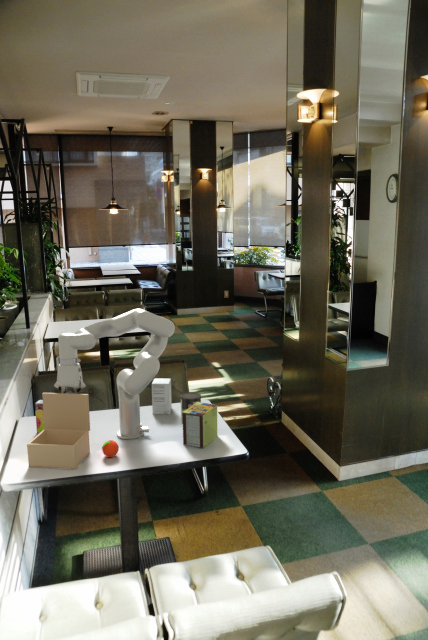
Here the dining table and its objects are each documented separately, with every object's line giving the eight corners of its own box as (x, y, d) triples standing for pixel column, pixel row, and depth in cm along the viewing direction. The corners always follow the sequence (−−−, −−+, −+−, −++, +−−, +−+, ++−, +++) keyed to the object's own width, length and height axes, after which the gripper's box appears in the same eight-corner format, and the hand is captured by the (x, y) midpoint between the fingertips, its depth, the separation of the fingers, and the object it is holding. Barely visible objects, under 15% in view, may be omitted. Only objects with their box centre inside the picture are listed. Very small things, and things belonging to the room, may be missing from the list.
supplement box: (154, 407, 276) (154, 378, 273) (171, 407, 276) (171, 378, 273) (152, 414, 266) (151, 383, 263) (169, 414, 266) (169, 383, 263)
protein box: (217, 435, 238) (217, 404, 236) (203, 448, 225) (202, 415, 222) (197, 432, 243) (197, 401, 240) (182, 444, 229) (181, 412, 226)
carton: (89, 452, 222) (88, 430, 220) (75, 469, 206) (74, 446, 204) (46, 450, 224) (44, 428, 223) (28, 467, 209) (27, 444, 207)
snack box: (83, 429, 247) (81, 400, 244) (79, 434, 241) (77, 404, 239) (41, 428, 249) (39, 399, 246) (36, 433, 244) (33, 403, 241)
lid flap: (89, 430, 220) (94, 425, 226) (87, 394, 218) (92, 390, 224) (44, 428, 223) (51, 423, 229) (42, 393, 220) (48, 388, 226)
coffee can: (205, 423, 253) (204, 396, 251) (186, 427, 248) (186, 400, 246) (195, 417, 262) (194, 390, 260) (177, 421, 257) (176, 394, 254)
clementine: (106, 462, 212) (106, 446, 211) (97, 457, 217) (96, 441, 216) (122, 455, 218) (121, 440, 217) (112, 451, 223) (112, 436, 222)
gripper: (90, 359, 225) (91, 399, 228) (53, 358, 227) (56, 397, 230) (84, 364, 218) (85, 405, 221) (46, 362, 219) (48, 403, 223)
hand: (70, 400), depth 225 cm, fingers closed on lid flap, 4 cm apart
